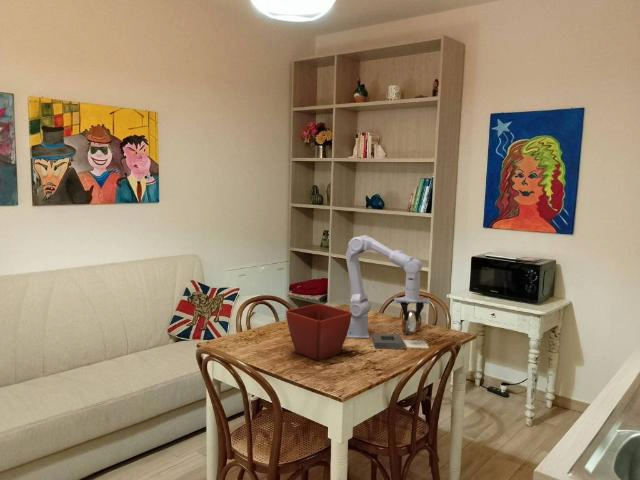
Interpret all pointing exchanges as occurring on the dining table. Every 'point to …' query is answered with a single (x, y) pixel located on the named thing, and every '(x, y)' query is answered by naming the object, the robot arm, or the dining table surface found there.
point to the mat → (415, 344)
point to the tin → (418, 325)
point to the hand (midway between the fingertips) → (411, 320)
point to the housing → (387, 341)
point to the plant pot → (318, 330)
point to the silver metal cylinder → (411, 321)
